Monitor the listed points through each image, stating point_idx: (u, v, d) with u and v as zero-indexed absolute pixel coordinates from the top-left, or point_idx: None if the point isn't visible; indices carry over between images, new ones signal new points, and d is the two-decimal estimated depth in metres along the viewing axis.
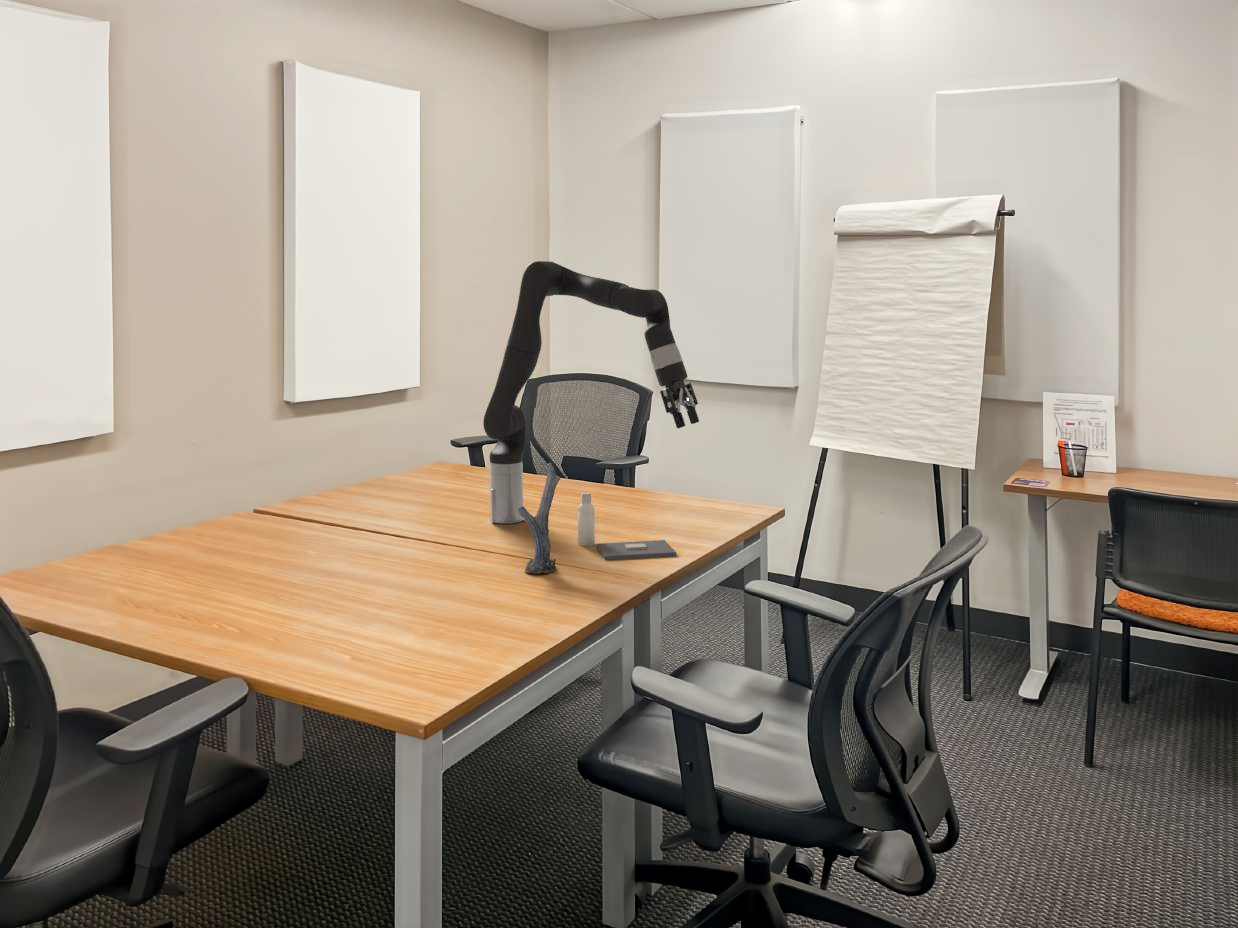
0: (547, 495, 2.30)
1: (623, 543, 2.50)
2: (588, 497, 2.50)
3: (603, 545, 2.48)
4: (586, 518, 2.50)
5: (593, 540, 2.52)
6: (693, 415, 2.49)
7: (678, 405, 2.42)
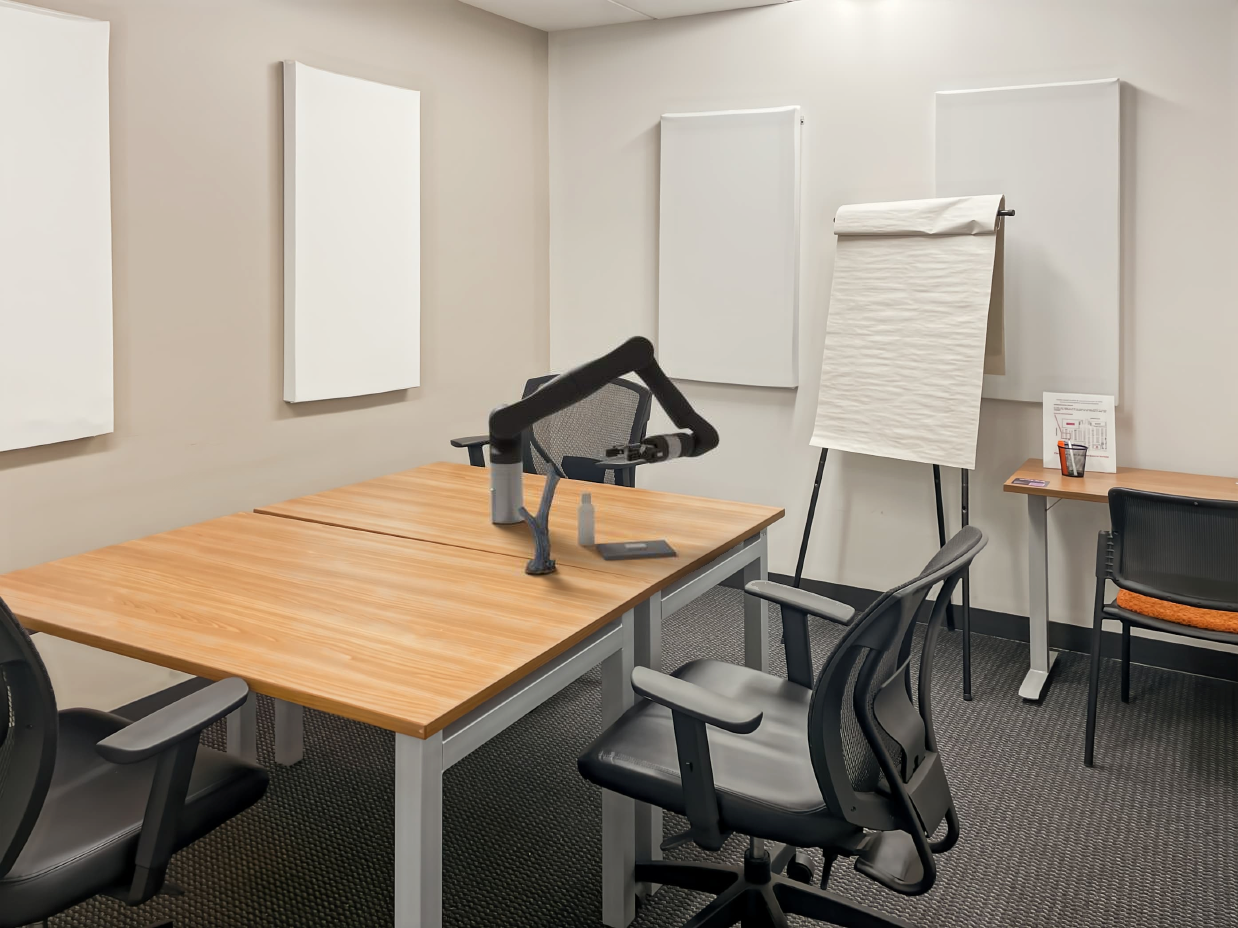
0: (547, 495, 2.30)
1: (623, 543, 2.50)
2: (588, 497, 2.50)
3: (603, 545, 2.48)
4: (586, 518, 2.50)
5: (593, 540, 2.52)
6: (613, 454, 2.61)
7: None
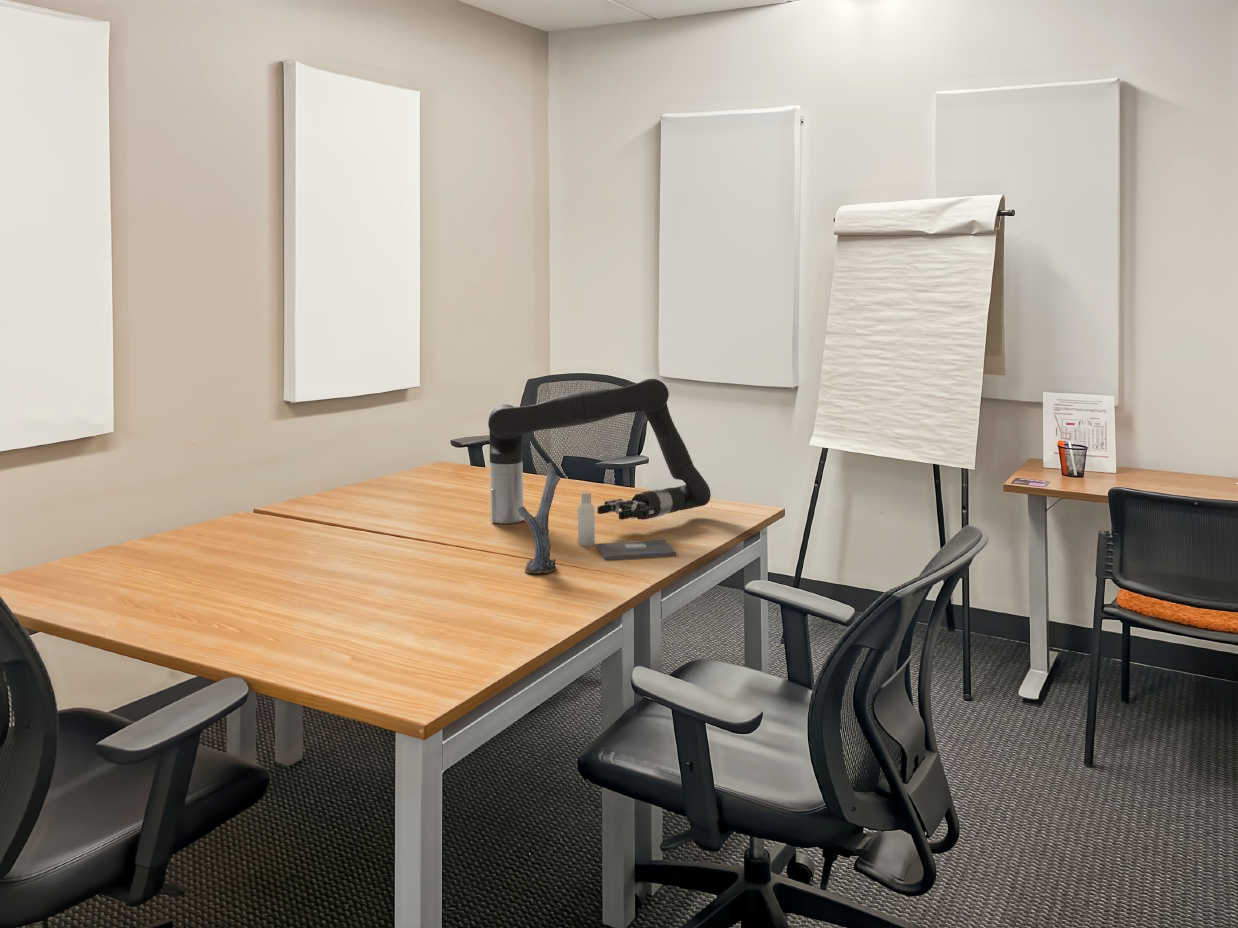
0: (547, 495, 2.30)
1: (623, 543, 2.50)
2: (588, 497, 2.50)
3: (603, 545, 2.48)
4: (586, 518, 2.50)
5: (593, 540, 2.52)
6: (604, 510, 2.61)
7: None
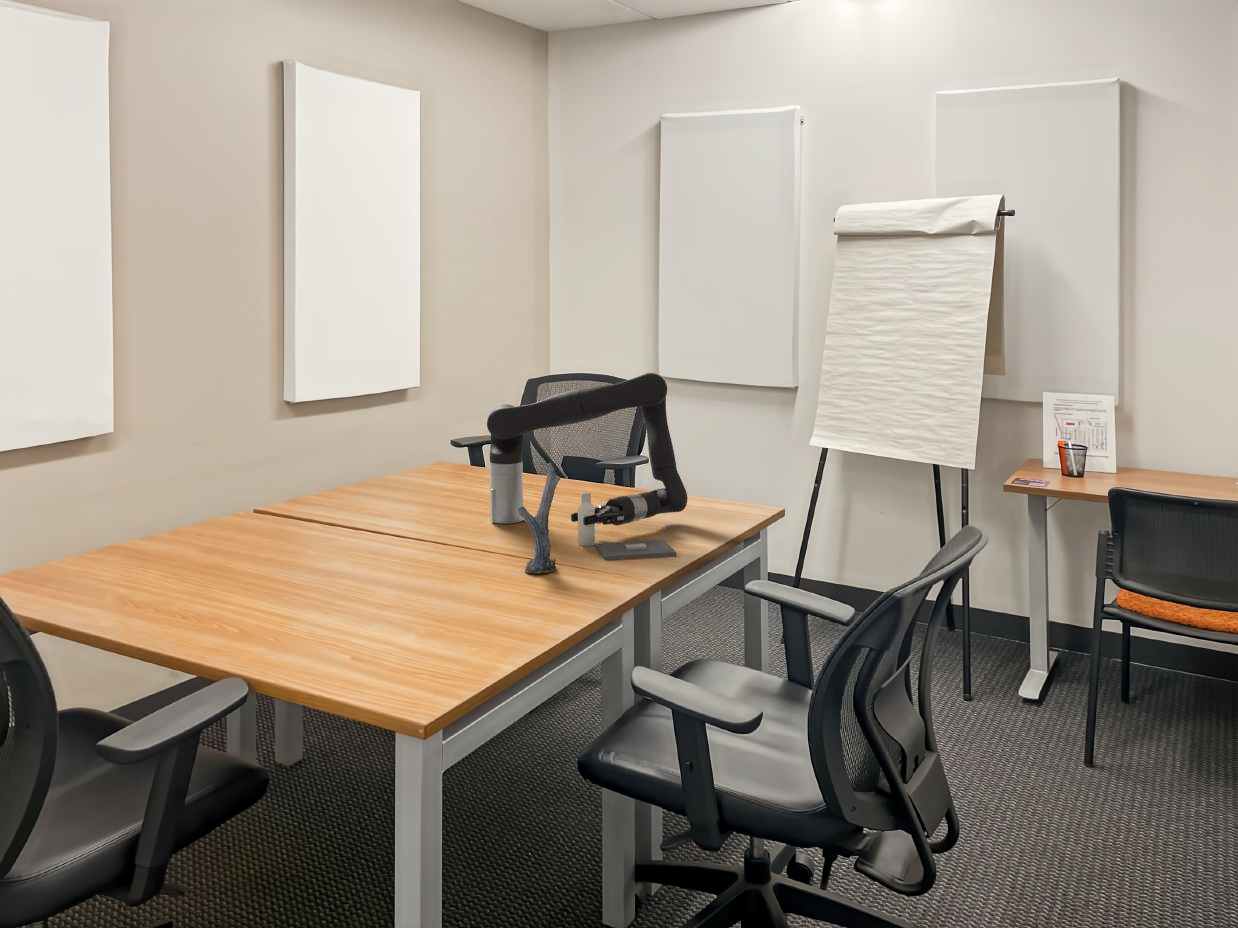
0: (547, 495, 2.30)
1: (623, 543, 2.50)
2: (588, 497, 2.50)
3: (603, 545, 2.48)
4: None
5: (593, 540, 2.52)
6: None
7: None
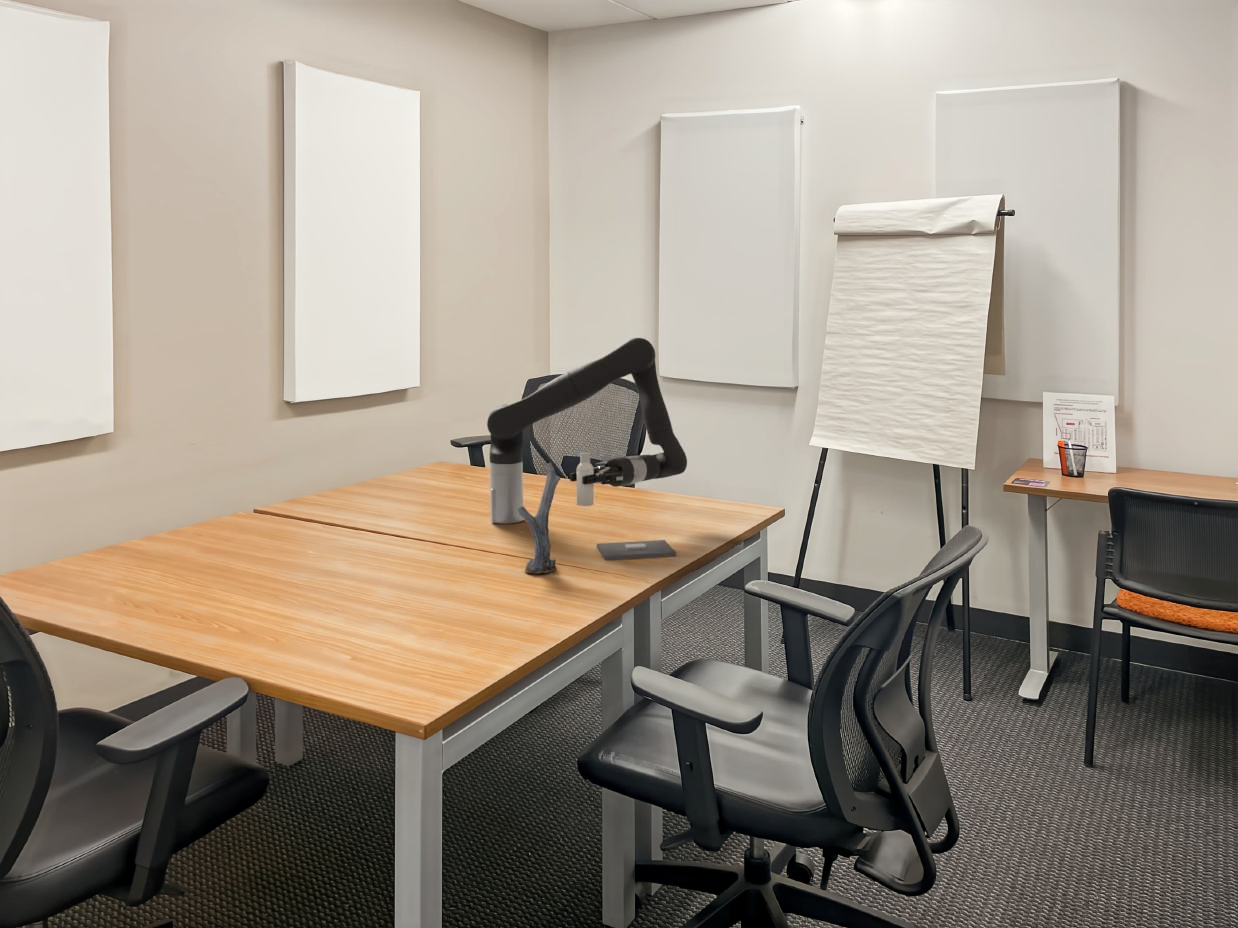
0: (547, 495, 2.30)
1: (623, 543, 2.50)
2: (587, 457, 2.48)
3: (603, 545, 2.48)
4: None
5: (592, 500, 2.50)
6: None
7: (600, 482, 2.50)
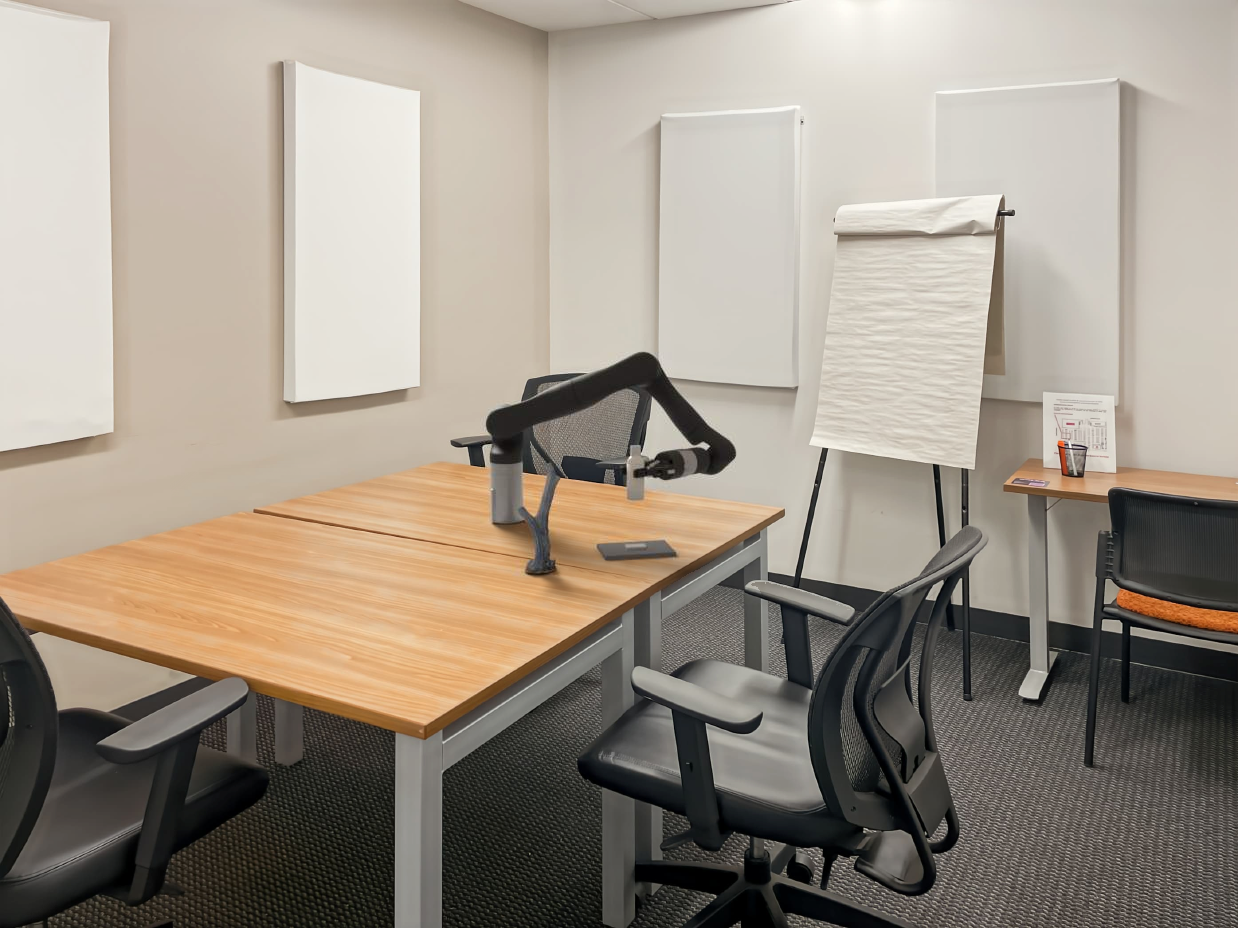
0: (547, 495, 2.30)
1: (623, 543, 2.50)
2: (638, 449, 2.40)
3: (603, 545, 2.48)
4: None
5: (643, 494, 2.42)
6: None
7: None
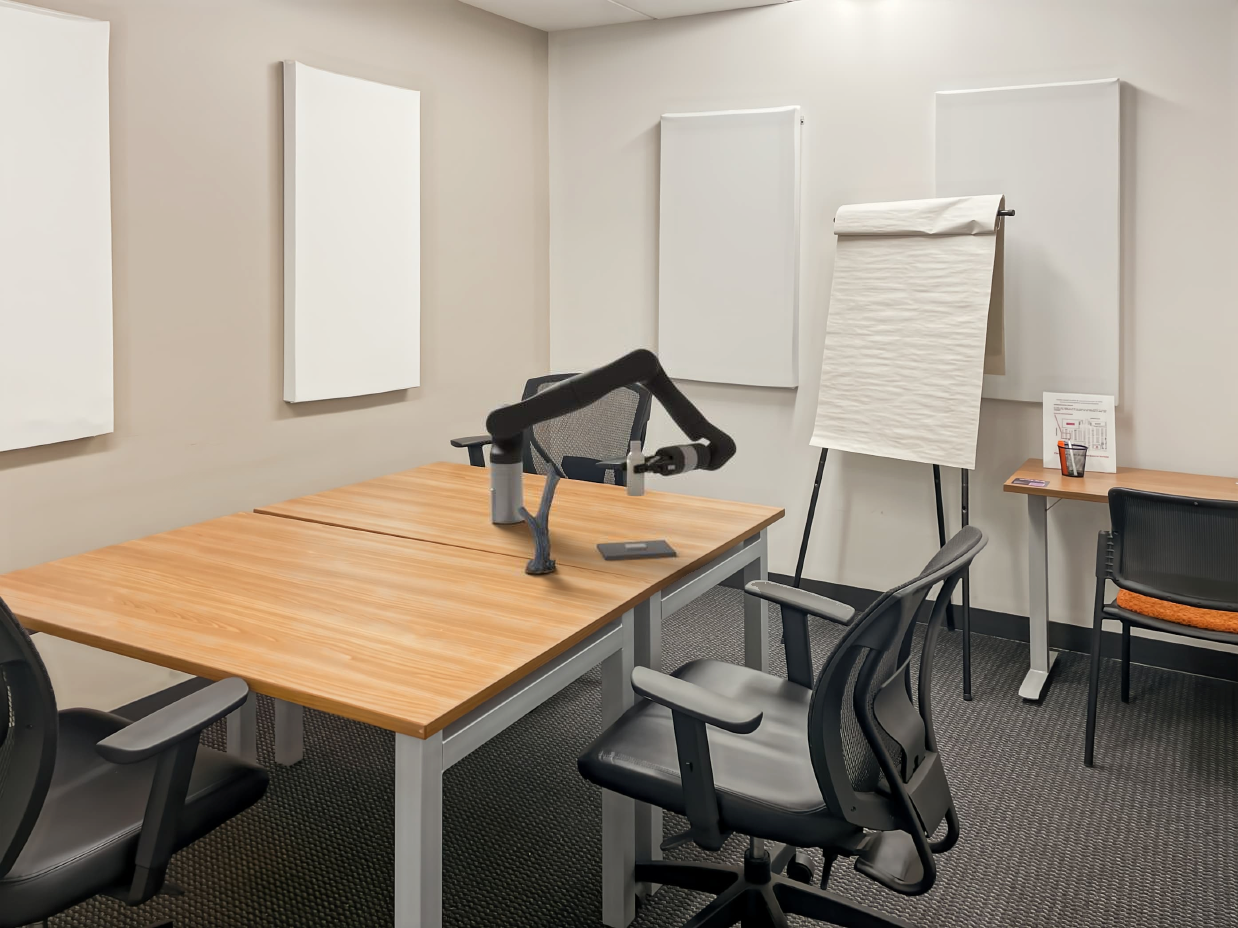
0: (547, 495, 2.30)
1: (623, 543, 2.50)
2: (638, 445, 2.40)
3: (603, 545, 2.48)
4: None
5: (643, 490, 2.42)
6: None
7: (651, 471, 2.42)
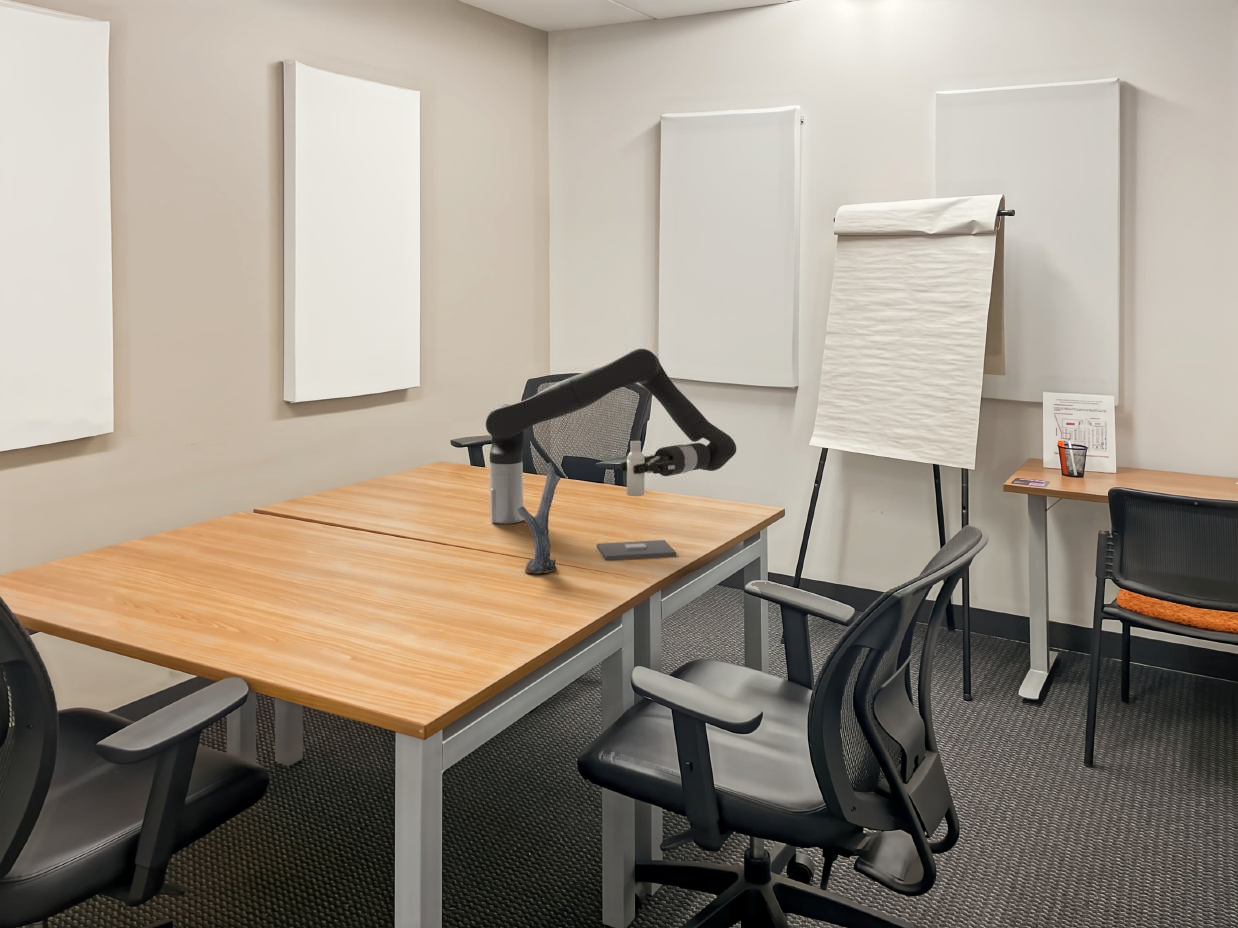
0: (547, 495, 2.30)
1: (623, 543, 2.50)
2: (638, 445, 2.40)
3: (603, 545, 2.48)
4: None
5: (643, 490, 2.42)
6: None
7: (651, 471, 2.42)
